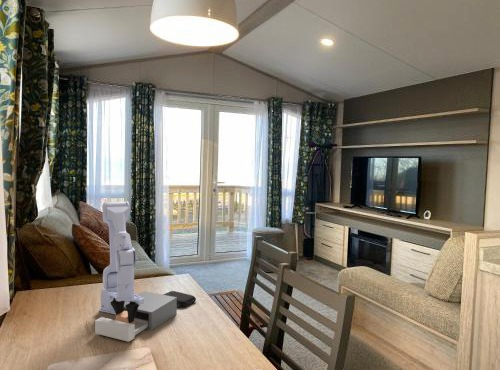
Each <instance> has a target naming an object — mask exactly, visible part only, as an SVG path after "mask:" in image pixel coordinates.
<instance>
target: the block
mask: <svg viewBox="0 0 500 370" xmlns="http://www.w3.org/2000/svg"><path fill="white" fill-rule="evenodd" d="M115 320H116V321H121V322H125V323H129V321H128V312H127V311H123V312H121V313H119V314H117V315H115ZM129 324H135V318H134V321H133V322H132V323H129Z"/></svg>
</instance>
